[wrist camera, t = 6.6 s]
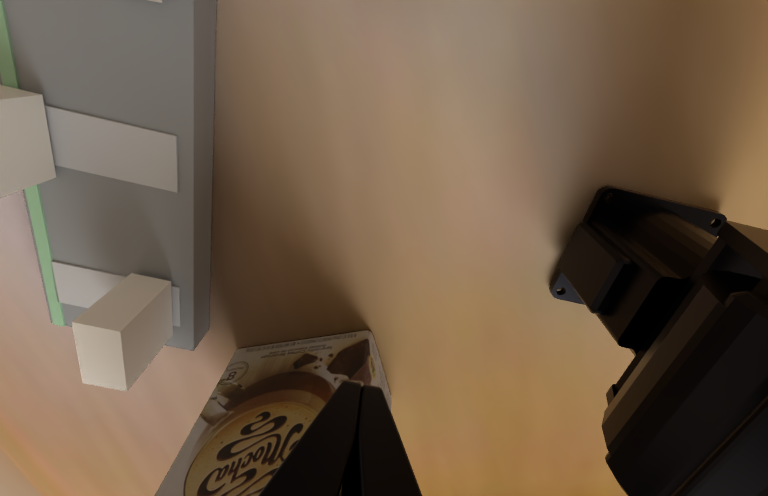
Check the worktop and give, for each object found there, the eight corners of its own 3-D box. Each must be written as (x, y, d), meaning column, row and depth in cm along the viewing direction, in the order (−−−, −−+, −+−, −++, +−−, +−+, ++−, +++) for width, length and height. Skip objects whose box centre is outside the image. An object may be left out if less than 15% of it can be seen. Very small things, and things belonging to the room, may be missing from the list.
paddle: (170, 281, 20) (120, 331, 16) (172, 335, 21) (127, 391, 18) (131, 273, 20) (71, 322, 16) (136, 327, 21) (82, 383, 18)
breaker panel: (220, -134, 14) (192, -162, 12) (209, 328, 24) (192, 352, 22) (-7, -197, 14) (-71, -236, 12) (77, 302, 24) (49, 323, 22)
